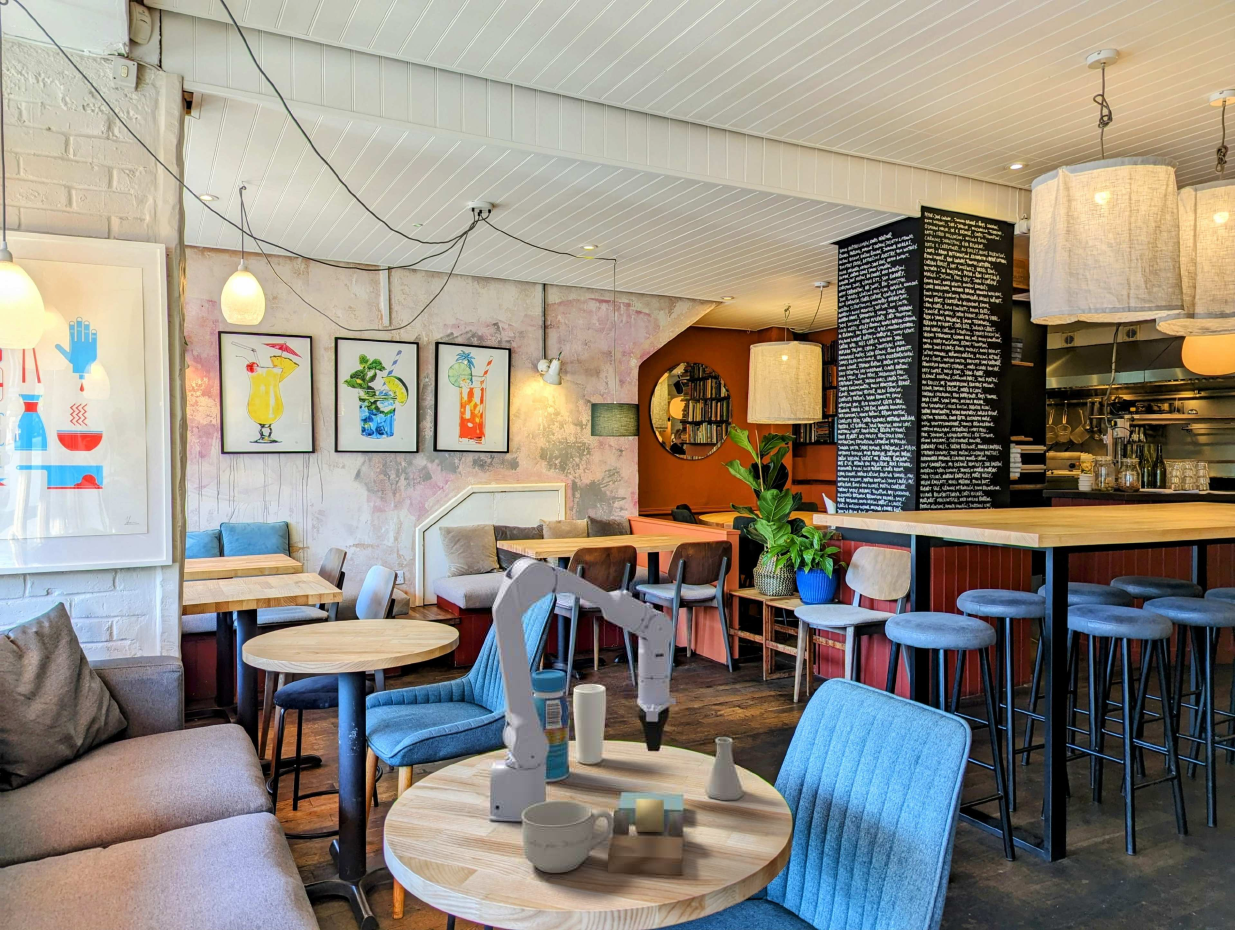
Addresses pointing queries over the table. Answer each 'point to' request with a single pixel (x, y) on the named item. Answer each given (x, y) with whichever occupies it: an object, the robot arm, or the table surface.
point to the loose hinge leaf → (650, 809)
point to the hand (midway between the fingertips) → (653, 749)
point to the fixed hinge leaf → (646, 848)
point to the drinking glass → (589, 721)
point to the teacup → (561, 834)
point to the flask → (724, 774)
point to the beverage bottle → (553, 720)
